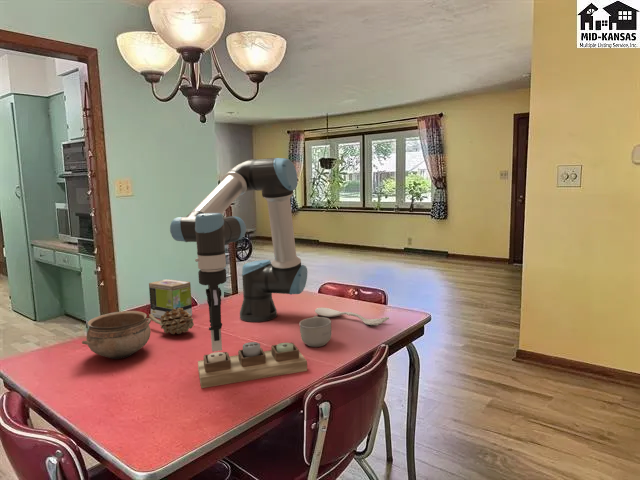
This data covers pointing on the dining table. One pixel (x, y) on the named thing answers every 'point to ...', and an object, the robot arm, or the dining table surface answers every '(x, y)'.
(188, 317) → the pine cone
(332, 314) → the spoon
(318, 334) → the teacup
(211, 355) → the button two
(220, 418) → the dining table surface
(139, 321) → the cooking pot
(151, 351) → the dining table surface
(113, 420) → the dining table surface
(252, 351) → the button three
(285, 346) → the button one
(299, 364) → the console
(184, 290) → the tea box
